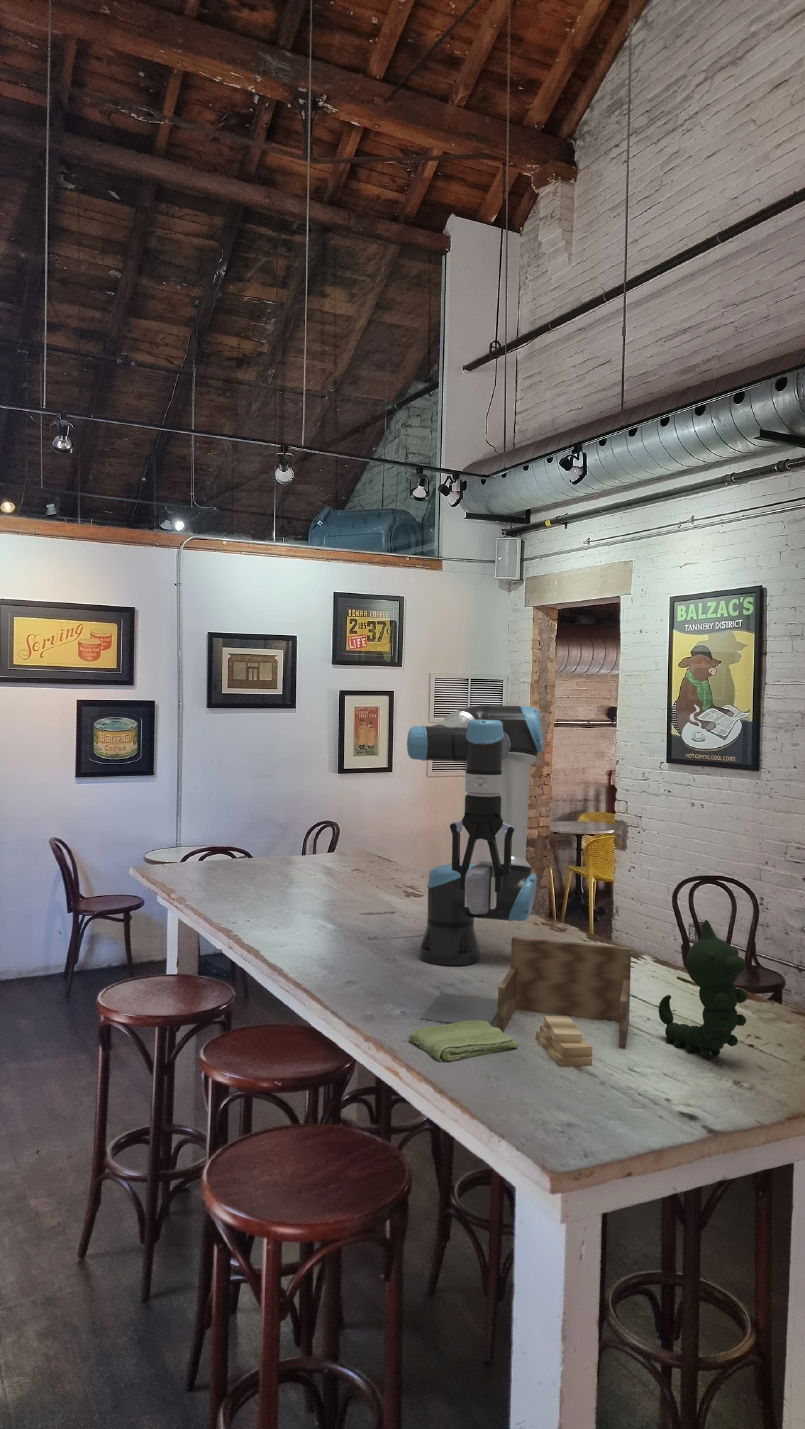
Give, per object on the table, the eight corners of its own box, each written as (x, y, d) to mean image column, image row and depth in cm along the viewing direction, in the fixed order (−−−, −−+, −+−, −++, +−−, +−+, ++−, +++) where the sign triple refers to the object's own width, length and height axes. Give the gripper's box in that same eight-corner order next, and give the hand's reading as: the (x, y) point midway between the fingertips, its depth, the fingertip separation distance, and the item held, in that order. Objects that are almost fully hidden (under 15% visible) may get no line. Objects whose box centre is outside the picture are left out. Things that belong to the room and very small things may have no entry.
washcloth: (521, 1052, 174) (522, 1034, 174) (440, 1067, 165) (441, 1049, 165) (481, 1030, 185) (482, 1014, 185) (404, 1043, 176) (404, 1026, 176)
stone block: (490, 917, 186) (482, 868, 187) (467, 919, 188) (459, 870, 188) (506, 904, 197) (499, 857, 198) (485, 906, 199) (477, 860, 199)
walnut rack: (497, 1033, 182) (499, 955, 182) (510, 1008, 198) (512, 936, 198) (625, 1048, 175) (627, 968, 175) (629, 1021, 191) (631, 947, 191)
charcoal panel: (420, 1022, 187) (420, 1018, 187) (441, 996, 205) (441, 992, 205) (488, 1030, 183) (488, 1026, 183) (504, 1003, 201) (504, 999, 201)
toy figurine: (721, 1073, 165) (725, 932, 164) (642, 1039, 181) (645, 910, 181) (756, 1064, 169) (760, 926, 169) (676, 1031, 186) (680, 906, 186)
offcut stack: (535, 1040, 180) (536, 1013, 180) (566, 1039, 181) (567, 1013, 181) (559, 1068, 166) (560, 1039, 166) (592, 1067, 167) (593, 1038, 167)
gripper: (437, 793, 191) (434, 907, 192) (523, 798, 187) (520, 914, 187) (445, 790, 199) (442, 899, 199) (528, 794, 194) (525, 906, 195)
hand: (480, 906), depth 193 cm, fingers closed on stone block, 5 cm apart
